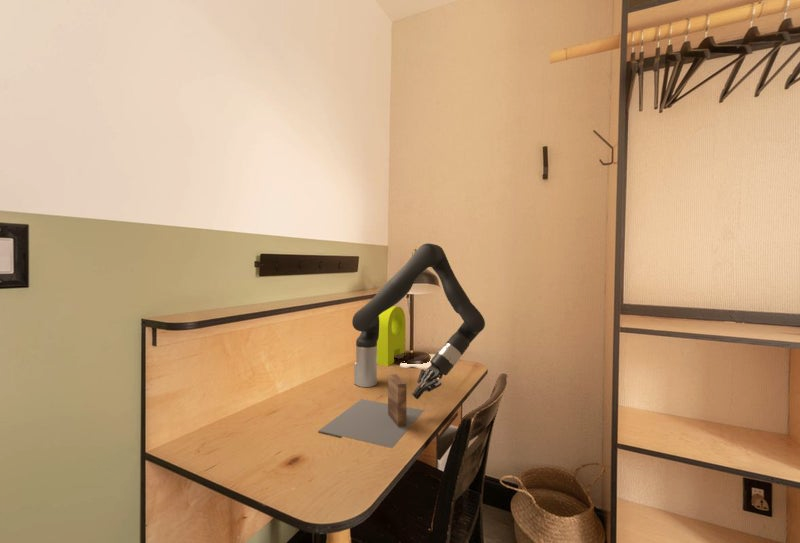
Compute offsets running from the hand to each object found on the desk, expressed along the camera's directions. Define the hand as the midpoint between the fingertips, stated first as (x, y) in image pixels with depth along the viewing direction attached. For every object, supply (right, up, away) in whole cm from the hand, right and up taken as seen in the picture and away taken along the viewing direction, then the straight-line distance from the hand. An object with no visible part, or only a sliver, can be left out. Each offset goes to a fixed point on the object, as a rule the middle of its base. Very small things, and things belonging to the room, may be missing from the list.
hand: (414, 397), depth 121 cm
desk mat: (-14, -7, -2) cm, 16 cm away
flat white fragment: (+7, -6, +68) cm, 69 cm away
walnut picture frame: (-6, -7, -2) cm, 10 cm away
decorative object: (-10, -6, +71) cm, 72 cm away
